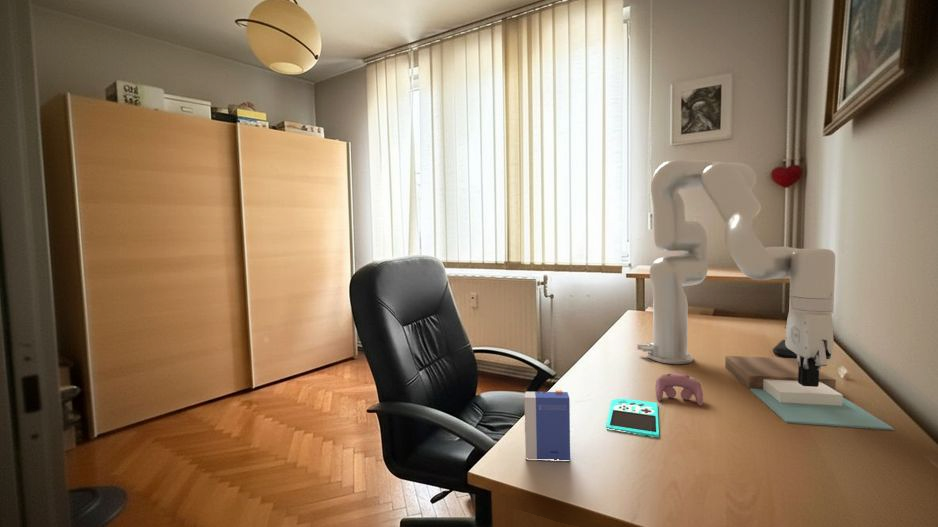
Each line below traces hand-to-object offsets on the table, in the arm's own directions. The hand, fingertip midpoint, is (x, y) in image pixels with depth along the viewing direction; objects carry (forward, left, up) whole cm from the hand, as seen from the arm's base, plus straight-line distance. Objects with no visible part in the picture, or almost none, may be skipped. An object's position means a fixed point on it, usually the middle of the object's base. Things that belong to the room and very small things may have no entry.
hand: (808, 384), depth 92 cm
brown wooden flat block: (0, +15, -4) cm, 16 cm away
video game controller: (-27, -2, -5) cm, 28 cm away
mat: (0, -2, -4) cm, 5 cm away
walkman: (-56, -33, -4) cm, 65 cm away
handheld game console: (-39, -14, -5) cm, 41 cm away
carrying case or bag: (+17, +41, -5) cm, 44 cm away
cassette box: (0, +3, -4) cm, 5 cm away
